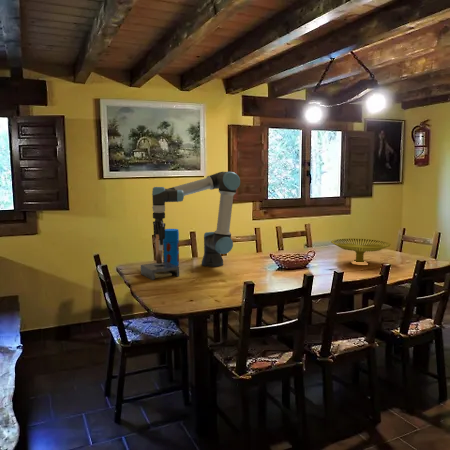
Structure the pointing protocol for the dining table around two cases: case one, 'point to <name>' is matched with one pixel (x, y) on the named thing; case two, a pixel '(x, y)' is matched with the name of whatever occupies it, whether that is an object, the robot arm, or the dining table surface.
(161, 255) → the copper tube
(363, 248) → the cake stand
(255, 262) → the dining table surface
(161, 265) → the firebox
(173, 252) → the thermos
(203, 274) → the dining table surface
